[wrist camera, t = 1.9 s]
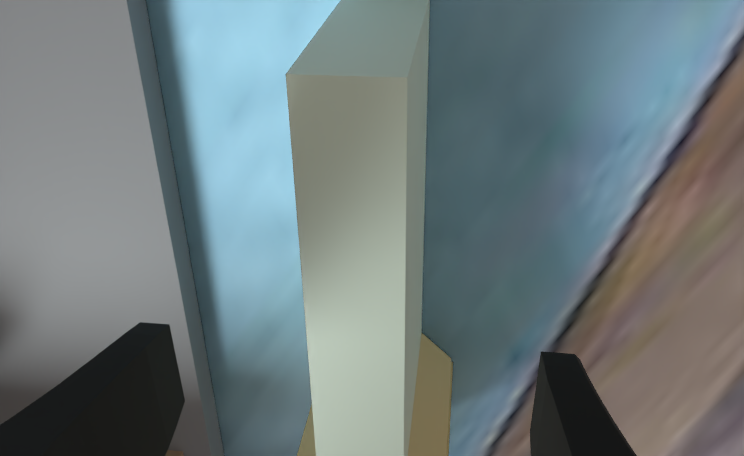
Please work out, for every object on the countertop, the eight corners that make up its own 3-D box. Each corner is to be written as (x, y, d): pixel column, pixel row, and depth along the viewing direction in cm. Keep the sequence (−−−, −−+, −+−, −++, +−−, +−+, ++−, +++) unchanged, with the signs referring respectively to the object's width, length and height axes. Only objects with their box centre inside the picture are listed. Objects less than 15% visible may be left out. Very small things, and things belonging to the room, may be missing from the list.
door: (449, 426, 23) (440, 599, 18) (330, 415, 24) (289, 581, 19) (473, -4, 16) (470, 79, 11) (304, -7, 17) (226, 72, 12)
